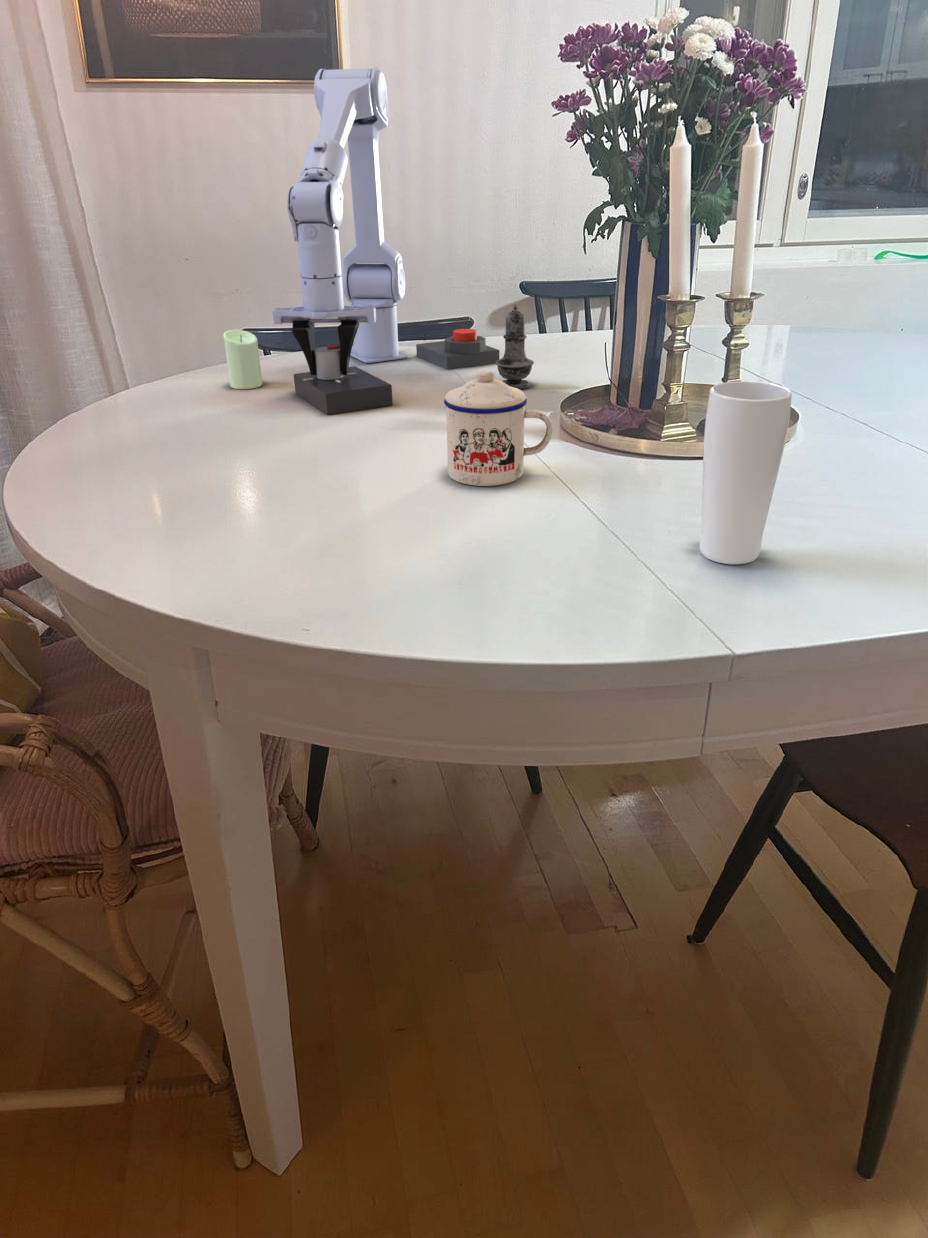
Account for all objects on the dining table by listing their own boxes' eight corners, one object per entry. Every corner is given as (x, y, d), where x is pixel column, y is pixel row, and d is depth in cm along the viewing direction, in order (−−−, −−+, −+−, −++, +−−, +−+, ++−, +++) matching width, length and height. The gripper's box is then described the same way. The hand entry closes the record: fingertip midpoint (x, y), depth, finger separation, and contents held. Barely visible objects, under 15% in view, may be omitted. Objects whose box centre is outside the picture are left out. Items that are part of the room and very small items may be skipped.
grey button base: (416, 356, 159) (415, 333, 157) (466, 350, 163) (466, 327, 161) (448, 370, 150) (448, 345, 148) (500, 363, 154) (501, 339, 152)
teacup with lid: (443, 487, 99) (440, 381, 94) (447, 461, 107) (445, 362, 102) (552, 488, 99) (556, 380, 93) (549, 461, 107) (552, 361, 101)
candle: (269, 384, 142) (262, 331, 139) (242, 391, 139) (235, 336, 135) (250, 380, 145) (243, 327, 142) (223, 386, 142) (216, 332, 138)
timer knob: (321, 381, 131) (319, 350, 129) (312, 375, 134) (309, 346, 132) (347, 377, 133) (345, 347, 131) (337, 372, 136) (335, 343, 134)
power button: (449, 340, 153) (449, 330, 153) (469, 338, 155) (469, 327, 154) (460, 344, 150) (460, 333, 149) (481, 342, 152) (481, 331, 151)
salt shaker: (534, 381, 142) (535, 301, 136) (532, 390, 137) (534, 307, 131) (496, 380, 143) (496, 301, 137) (494, 389, 137) (494, 307, 132)
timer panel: (294, 393, 137) (292, 372, 136) (356, 385, 141) (355, 364, 140) (326, 415, 126) (324, 392, 125) (392, 405, 130) (391, 383, 129)
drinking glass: (681, 542, 85) (698, 382, 78) (751, 538, 86) (774, 379, 79) (704, 572, 79) (724, 401, 72) (779, 568, 80) (807, 398, 73)
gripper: (263, 280, 124) (274, 380, 130) (369, 279, 123) (375, 379, 130) (275, 273, 130) (285, 369, 136) (375, 272, 129) (380, 368, 136)
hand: (329, 373), depth 133 cm, fingers closed on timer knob, 4 cm apart
